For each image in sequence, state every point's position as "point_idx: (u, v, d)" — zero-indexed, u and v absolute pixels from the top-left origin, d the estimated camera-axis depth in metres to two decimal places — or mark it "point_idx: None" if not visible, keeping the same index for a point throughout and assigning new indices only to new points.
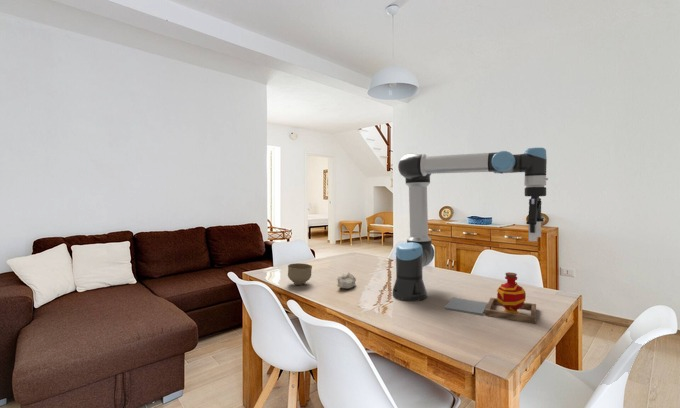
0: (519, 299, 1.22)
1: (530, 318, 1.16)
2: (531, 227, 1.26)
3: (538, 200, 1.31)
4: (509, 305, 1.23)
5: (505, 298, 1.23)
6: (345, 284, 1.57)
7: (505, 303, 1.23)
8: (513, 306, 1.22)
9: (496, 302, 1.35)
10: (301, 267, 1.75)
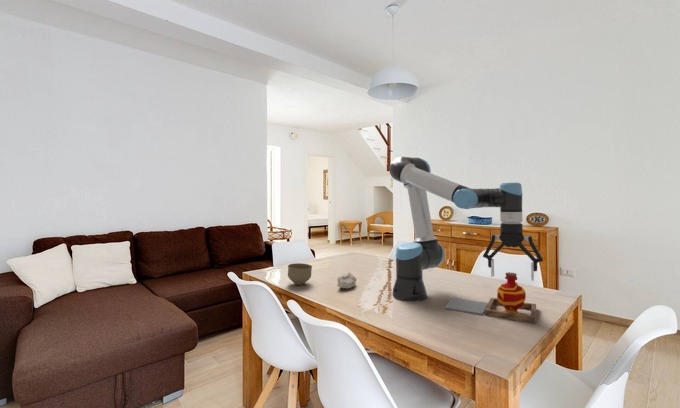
0: (519, 299, 1.22)
1: (530, 318, 1.16)
2: None
3: (512, 237, 1.24)
4: (509, 305, 1.23)
5: (505, 298, 1.23)
6: (345, 284, 1.57)
7: (505, 303, 1.23)
8: (513, 306, 1.22)
9: (496, 302, 1.35)
10: (301, 267, 1.75)
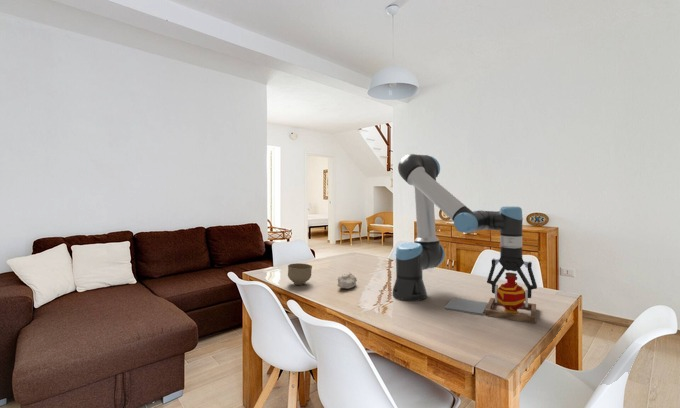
0: (519, 299, 1.22)
1: (530, 318, 1.16)
2: (492, 287, 1.30)
3: (511, 260, 1.25)
4: (509, 305, 1.23)
5: (505, 298, 1.23)
6: (345, 284, 1.57)
7: (505, 303, 1.23)
8: (513, 306, 1.22)
9: None
10: (301, 267, 1.75)
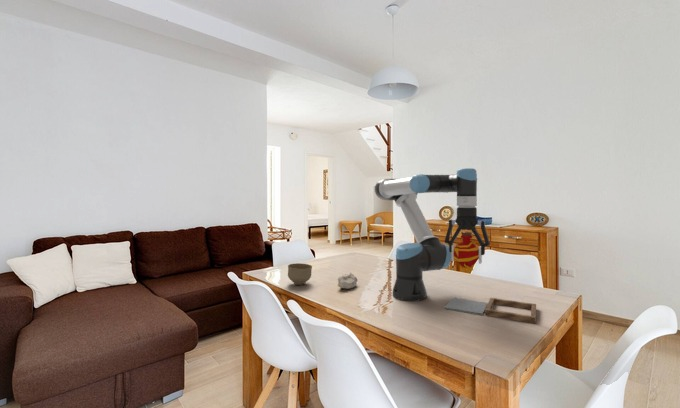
0: (473, 256, 1.28)
1: (530, 318, 1.16)
2: None
3: (466, 219, 1.31)
4: (463, 262, 1.29)
5: (460, 255, 1.29)
6: (345, 284, 1.57)
7: (460, 260, 1.30)
8: (467, 262, 1.29)
9: (496, 302, 1.35)
10: (301, 267, 1.75)
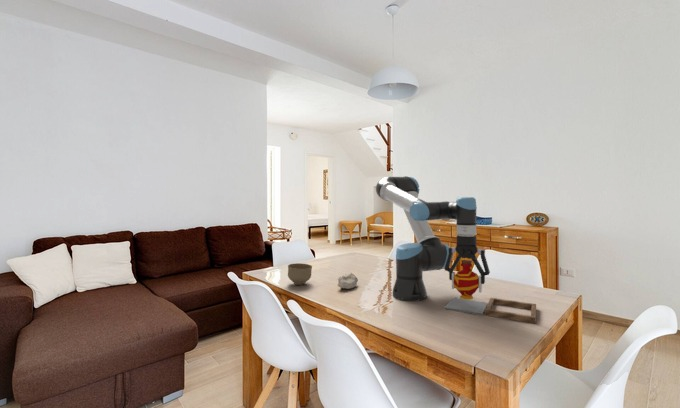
0: (473, 285, 1.28)
1: (530, 318, 1.16)
2: None
3: (466, 248, 1.31)
4: (463, 290, 1.29)
5: (460, 283, 1.29)
6: (345, 284, 1.57)
7: (460, 288, 1.30)
8: (467, 291, 1.29)
9: (496, 302, 1.35)
10: (301, 267, 1.75)
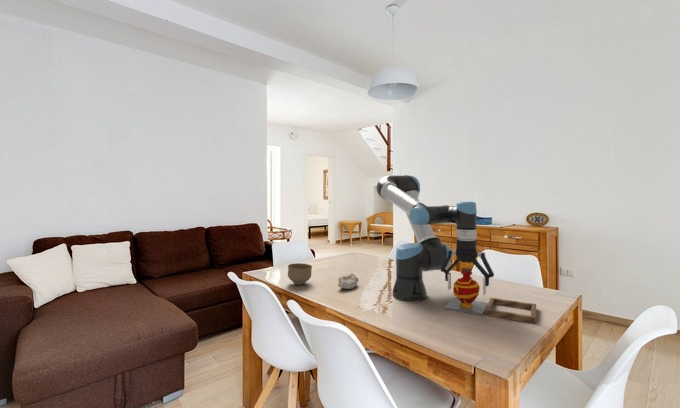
0: (473, 293, 1.28)
1: (530, 318, 1.16)
2: None
3: (466, 253, 1.31)
4: (463, 298, 1.30)
5: (460, 291, 1.29)
6: (345, 284, 1.57)
7: (459, 296, 1.30)
8: (467, 299, 1.29)
9: (496, 302, 1.35)
10: (301, 267, 1.75)
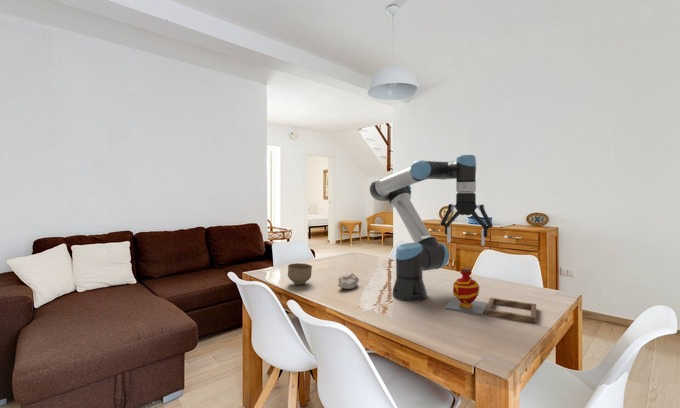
0: (472, 293, 1.28)
1: (530, 318, 1.16)
2: None
3: (465, 206, 1.34)
4: (463, 298, 1.30)
5: (460, 291, 1.30)
6: (345, 284, 1.57)
7: (459, 296, 1.30)
8: (467, 299, 1.29)
9: (496, 302, 1.35)
10: (301, 267, 1.75)
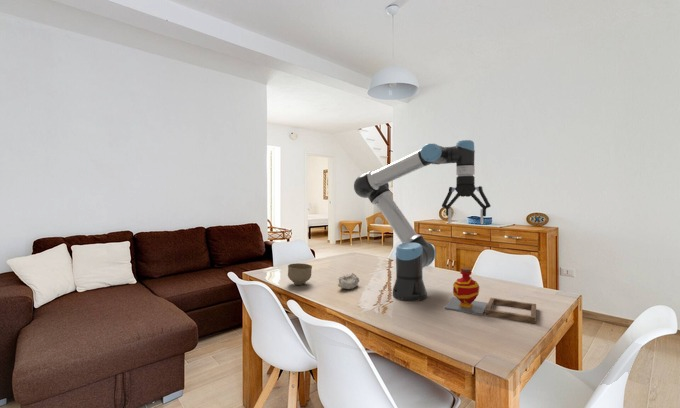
0: (472, 293, 1.28)
1: (530, 318, 1.16)
2: None
3: (465, 188, 1.44)
4: (463, 298, 1.30)
5: (460, 291, 1.30)
6: (345, 284, 1.57)
7: (459, 296, 1.30)
8: (467, 299, 1.29)
9: (496, 302, 1.35)
10: (301, 267, 1.75)
